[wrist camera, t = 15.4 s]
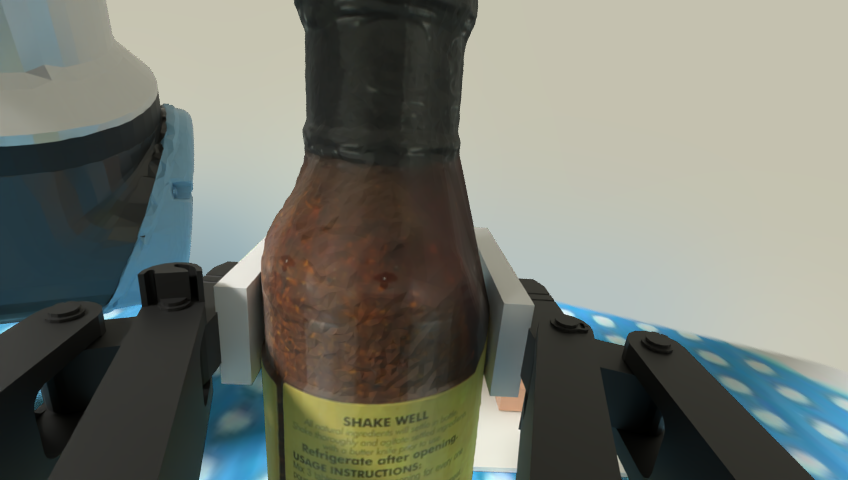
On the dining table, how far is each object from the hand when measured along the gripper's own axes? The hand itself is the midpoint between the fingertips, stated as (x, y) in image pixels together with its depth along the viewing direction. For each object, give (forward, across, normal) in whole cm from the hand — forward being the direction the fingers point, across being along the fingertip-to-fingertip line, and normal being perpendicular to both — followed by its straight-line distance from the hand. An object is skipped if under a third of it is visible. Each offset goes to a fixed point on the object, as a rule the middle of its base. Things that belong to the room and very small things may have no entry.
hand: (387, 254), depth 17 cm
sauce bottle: (-5, 0, -11) cm, 12 cm away
